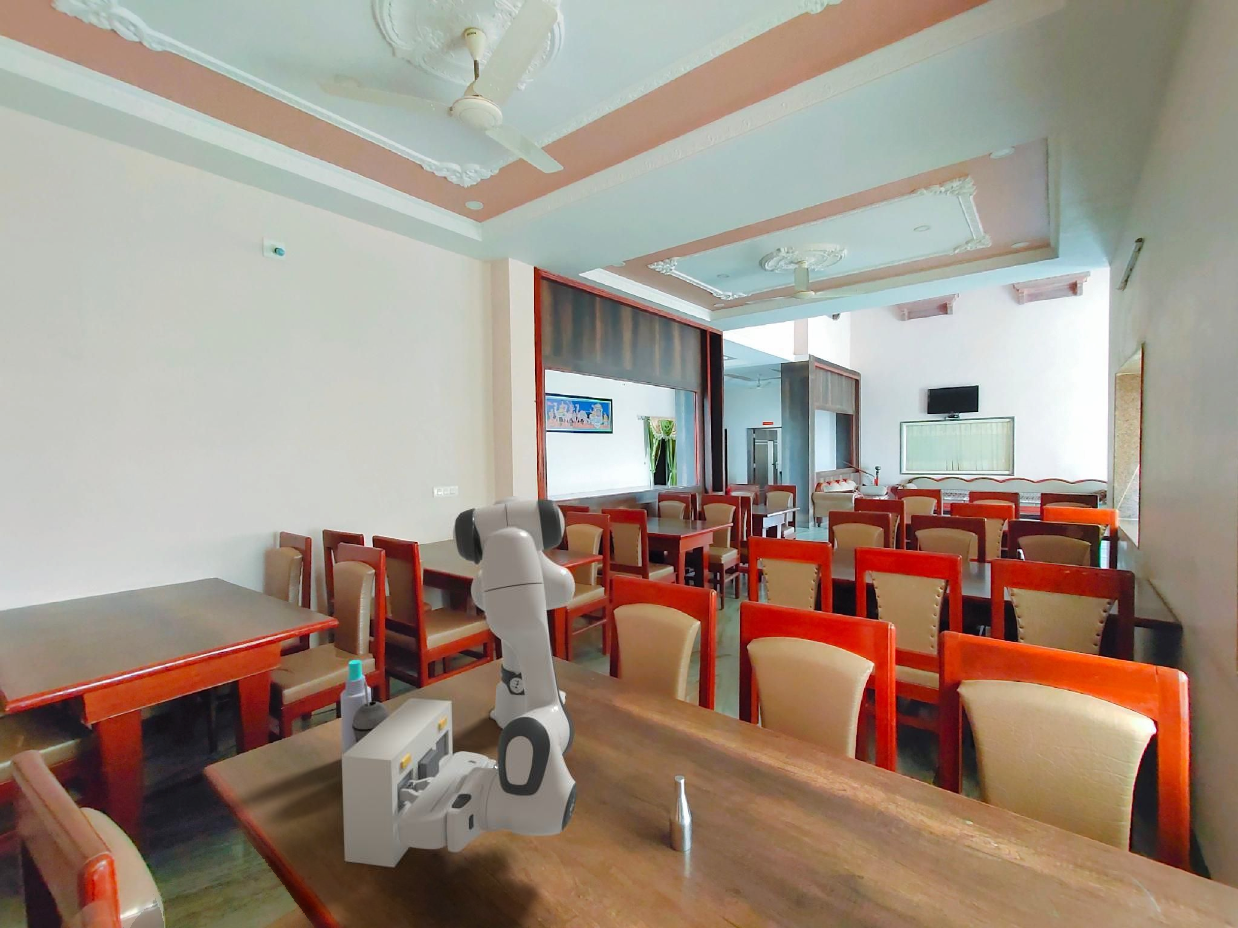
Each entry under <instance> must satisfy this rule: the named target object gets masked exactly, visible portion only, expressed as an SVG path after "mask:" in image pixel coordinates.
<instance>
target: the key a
mask: <svg viewBox="0 0 1238 928" xmlns="http://www.w3.org/2000/svg"><path fill="white" fill-rule="evenodd" d="M410 780H411V779H410V771H409V772H408V773H407V775H406V776H405V777H404V778H403V779H402V780H401V781H400V782H399V783H398V784H397V797H398V809H399V807H400V806H401V805H402V804H403V803H404V802H405V801H402V800H400V797H399V792H400V791H401V789H402V788H403V787H404V786H405V785H406V784H407V783H408V782H409V781H410Z"/></svg>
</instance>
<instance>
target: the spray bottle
mask: <svg viewBox="0 0 1238 928" xmlns="http://www.w3.org/2000/svg"><path fill="white" fill-rule="evenodd" d="M362 673H363V670H362V659H353V660H350V661H349V662H348V677H346V679H345V689H344V690H342V691H341V693H340V717H341V719H340V721H341V750H342V752H341V754H342V755H343V754H344V753H346V752H347V751H348V750H349V749H350V748H352V747H353V746H354V745H355V744H356V738H355V735H354V731H353V728H352V724H353V719H354V716H355V714H356V712H357V710H358V709H359V708H360V707H361V706H362V705H364V704H365V703H366V696H365V688H364V682H366V675H364V674H362ZM367 690H368V697H369V702H372V689H371V687H370V686H368V685H367ZM342 755H341V756H342Z"/></svg>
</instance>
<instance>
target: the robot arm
mask: <svg viewBox="0 0 1238 928" xmlns="http://www.w3.org/2000/svg"><path fill="white" fill-rule="evenodd" d="M565 525H566V524H565V517H564V515H563V512H562V510H561V509H560V507H559V505H558V503H556V502H555V501H554V500H552V499H549V498H548V499H547V498H538V499H537V500H525V499H523V498H522V497H519V496H513V495H512V496H504V497H501V498H500V499H497V500H496V501H495V502H494V503H493V504H492V505H491V504H490V505H487V506H483V507H481V508H476V509H475V507H474V508H469V509H467V510H464V511H462V512H460V513H459V514H458V515H457V517H456V518H455V521H454V525H453V531H452V538H453V543H454V546H455V548H456V550H457V552H458V554H459V556H460V557H462V558H463V559H464V560H465V561H469V562H474V564H475V565H480V562H481V569H480V570H479V571H478V572H477V573H476V574H475V576H474V578H473V580H472V582H471V585H470V593H471V597H472V600H473V602H474V603H475V605H476V606H477V608H479V609H481V610H482V611H483V612H484V613H485V614H484V615H485V618H486V621H487V624H488V627H489V630H490V631H491V632H492V633H493V634H494V635H495V636H496V637H497V638H499V639H500V641H501V643H500V644H501V652H502V653H501V655H502V662H501V663H502V664H501V665H500V680H501V681H500V682H498V684H496V688H495V705H494V706H495V707H494V709H492V710H491V711H490V714H489V715H490V716H489V717H490V718H491V719H493V720H495V721H496V723H497V725H498V727H500V729H502V731H501V733H500V735H499V738H498V741H497V760H495V759H491V758H489V757H488V756H487V755H483V754H480V753H476V752H469V751H465V750H464V751H457V752H455V753H453V756H452V757H451V758H450V759H449V761H448V762H447V763H446V764H445V765H444V767H443V768H442V769H441V770H440V771H439V773H438V774H437V775H436V776H435V777H429V778H425V779H421V780H418V781H415V780H410V781H409V782H408V783H407V784H406V785H405V786H404V787H403V788H402V789H401V791H400V792H399V797H400V800H402V801H409V802H410V803H411V804H412V805H411V806H410V807H409V809H408V810H407V811H406V812H405V813H404V815H403V816H402V817H401V818H400V820H399V822H398V835H399V841H400V842H401V843H402V844H403V845H404V846H408V847H409V848H414V849H415V848H416V849H424V850H437V849H441V848H444V847H446V846H447V851H448V852H450V853H451V852H452V853H458V852H461V851H462V850H463V849H464V848H465V847H466V846H467V845H468V844H470V843H471V842H472V841H474V839H476V838H477V837H479V836H480V835H482V834H483V833H484V832H485V831H487V832H488V831H489V832H497V831H501V830H502V831H504V830H506V831H510V832H511V833H513V834H515V835H525V836H554V835H558V834H560V833H561V832H563V831H564V830H565V828H566V827H567V826H568V825H569V823H570V820H571V819H572V815H573V813H574V811H575V807H576V802H577V797H578V784H577V782H576V781H575V780H574V779H573V777H572V776H571V774H570V772H569V771H570V770H569V769H568V768H567V765H566V763H565V762H566V761H565V760H564V757H565V756H566V755H567V754H568V753H569V751H570V749H571V748H572V745H573V744H574V738H575V725H574V722H573V718H572V717H571V714H570V712H569V711H568V709H567V707H566V705H564V704H565V703H566V699H565V696H566V695H567V694H566V692H564V691H562V690H560V688H559V684H558V678H557V672H556V665H555V662H554V656H553V649H552V645H551V640H550V632H549V624H548V615H547V614H548V613H547V611H549V610H554V609H558V608H563V607H566V606H568V604H570V603H571V601H572V599H573V597H574V594H575V591H576V584H575V579H574V576H573V574H572V572H570V570H569V569H568V568H567V567H564V566H561V565H559V564H557V563H555V562H554V561H552V560H551V559H549V558H548V557H547V556H546V554H545V553H544V552H543V551H549V550H552V549H554V548H557V547H558V546H559V545H560V544H561V542H562V541H563V536H564V533H565Z"/></svg>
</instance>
